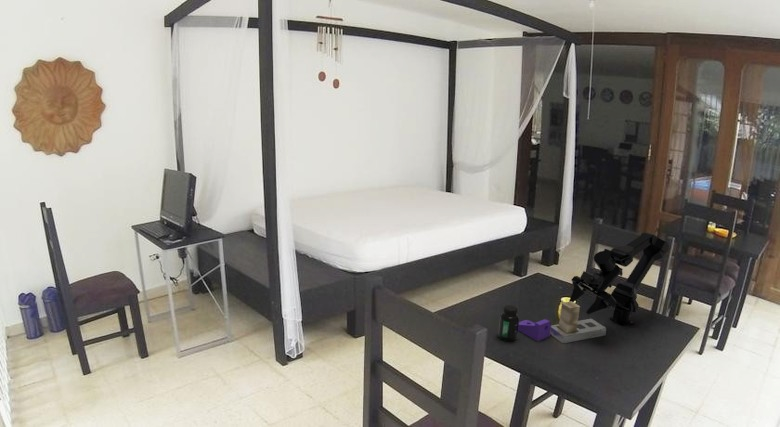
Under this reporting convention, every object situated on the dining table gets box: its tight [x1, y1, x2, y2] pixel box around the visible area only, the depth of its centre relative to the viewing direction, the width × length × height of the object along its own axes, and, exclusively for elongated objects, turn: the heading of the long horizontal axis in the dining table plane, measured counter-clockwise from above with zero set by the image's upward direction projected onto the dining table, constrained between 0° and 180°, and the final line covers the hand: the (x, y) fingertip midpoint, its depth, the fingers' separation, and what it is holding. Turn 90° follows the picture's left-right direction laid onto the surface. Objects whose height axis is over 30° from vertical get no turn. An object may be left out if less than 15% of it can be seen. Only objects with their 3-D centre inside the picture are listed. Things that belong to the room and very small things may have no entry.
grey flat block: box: [550, 318, 607, 344], centre depth 187 cm, size 20×8×3 cm, turn 111°
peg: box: [558, 301, 581, 334], centre depth 184 cm, size 4×4×13 cm
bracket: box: [518, 318, 552, 342], centre depth 187 cm, size 12×7×7 cm, turn 35°
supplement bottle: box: [498, 304, 520, 342], centre depth 182 cm, size 7×7×12 cm
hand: (578, 308), depth 184 cm, fingers open, 9 cm apart
